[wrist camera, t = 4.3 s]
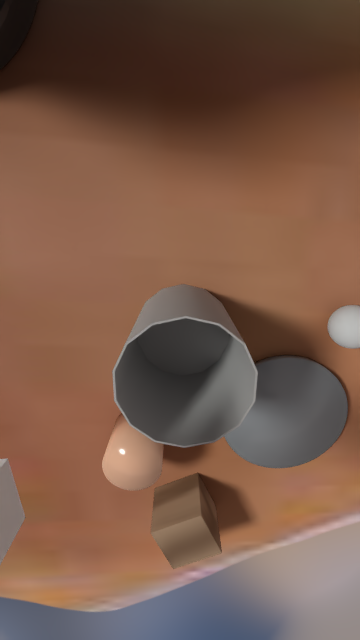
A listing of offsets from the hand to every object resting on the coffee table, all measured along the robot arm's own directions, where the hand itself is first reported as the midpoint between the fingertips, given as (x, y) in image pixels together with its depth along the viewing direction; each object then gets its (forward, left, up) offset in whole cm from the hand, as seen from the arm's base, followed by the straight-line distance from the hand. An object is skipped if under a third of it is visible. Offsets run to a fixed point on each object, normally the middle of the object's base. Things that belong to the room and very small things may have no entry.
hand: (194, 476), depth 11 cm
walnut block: (+19, -1, -17) cm, 25 cm away
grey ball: (0, +14, -17) cm, 22 cm away
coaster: (+9, +9, -17) cm, 21 cm away
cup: (0, 0, -17) cm, 17 cm away
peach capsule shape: (+10, -5, -17) cm, 20 cm away
